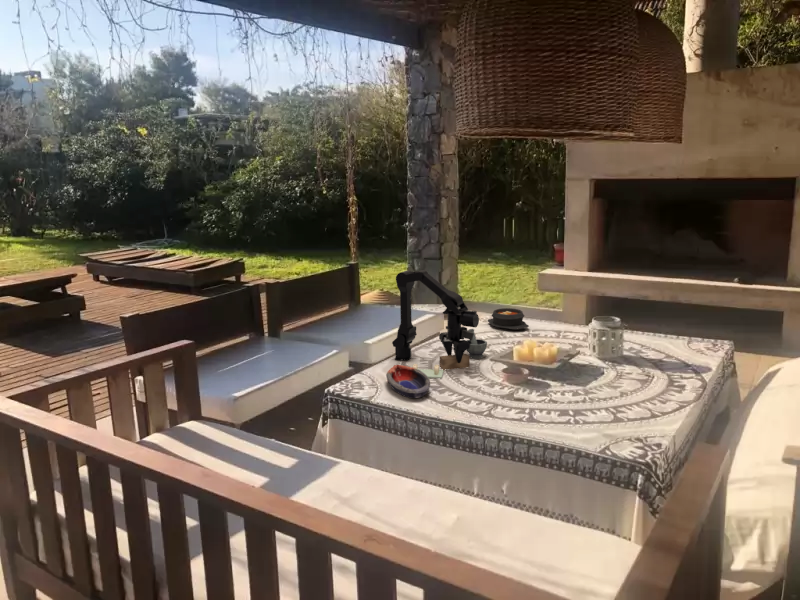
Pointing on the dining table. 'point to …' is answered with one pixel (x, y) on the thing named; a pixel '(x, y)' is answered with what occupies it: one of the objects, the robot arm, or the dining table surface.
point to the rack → (431, 371)
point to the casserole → (508, 319)
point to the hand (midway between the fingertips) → (454, 359)
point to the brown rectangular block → (454, 362)
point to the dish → (408, 381)
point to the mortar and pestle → (476, 347)
